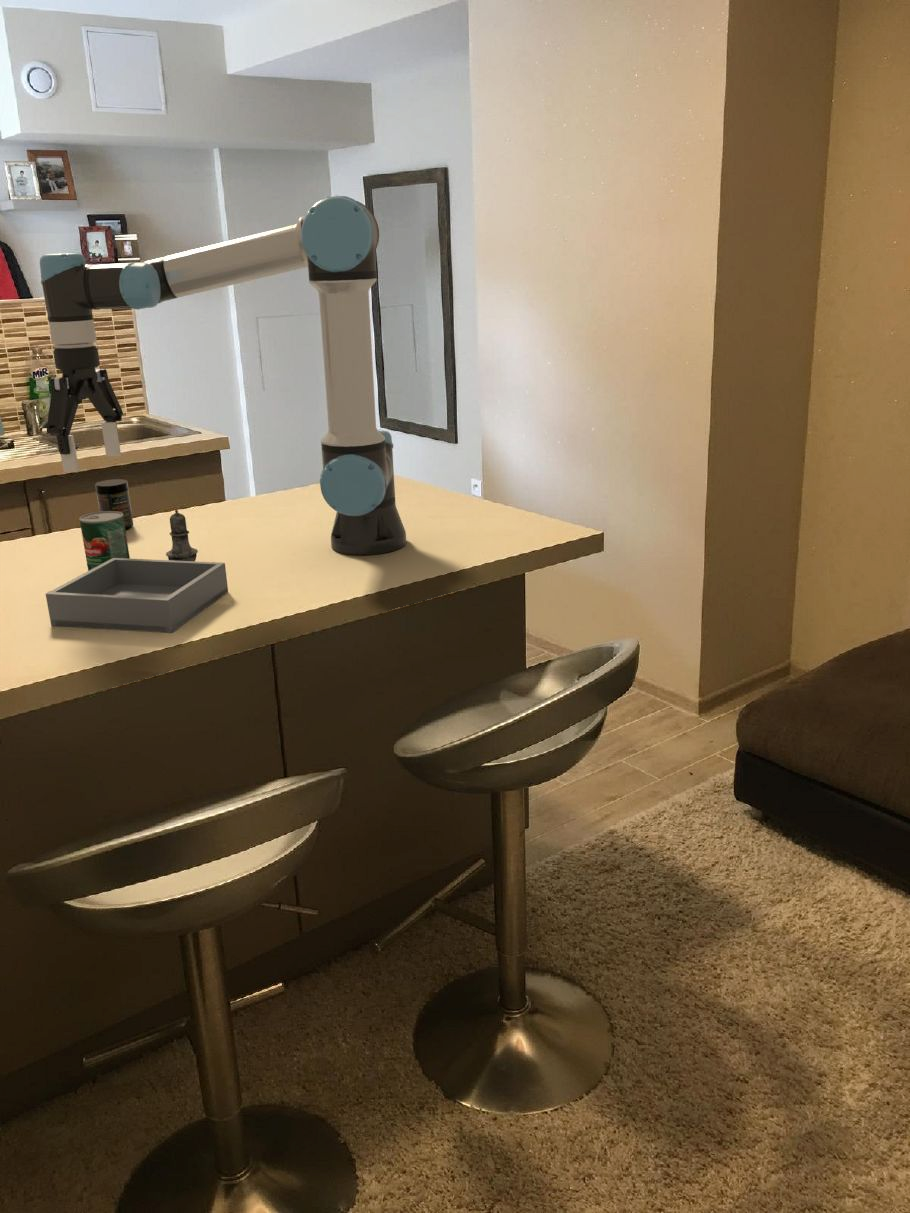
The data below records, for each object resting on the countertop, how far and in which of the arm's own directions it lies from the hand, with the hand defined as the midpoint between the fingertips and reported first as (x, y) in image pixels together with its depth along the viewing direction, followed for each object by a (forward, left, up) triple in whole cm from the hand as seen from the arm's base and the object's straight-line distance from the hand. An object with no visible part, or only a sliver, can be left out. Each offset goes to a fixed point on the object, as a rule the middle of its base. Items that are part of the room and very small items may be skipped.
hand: (93, 464), depth 186 cm
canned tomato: (0, 0, -21) cm, 21 cm away
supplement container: (+16, -29, -21) cm, 39 cm away
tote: (-18, +18, -21) cm, 33 cm away
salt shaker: (-14, -3, -21) cm, 25 cm away
